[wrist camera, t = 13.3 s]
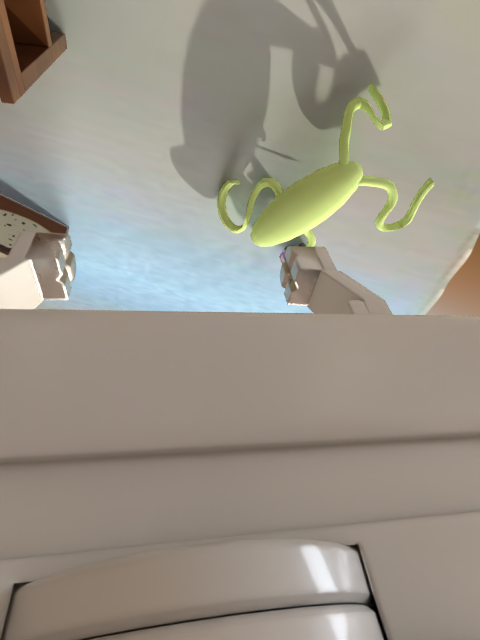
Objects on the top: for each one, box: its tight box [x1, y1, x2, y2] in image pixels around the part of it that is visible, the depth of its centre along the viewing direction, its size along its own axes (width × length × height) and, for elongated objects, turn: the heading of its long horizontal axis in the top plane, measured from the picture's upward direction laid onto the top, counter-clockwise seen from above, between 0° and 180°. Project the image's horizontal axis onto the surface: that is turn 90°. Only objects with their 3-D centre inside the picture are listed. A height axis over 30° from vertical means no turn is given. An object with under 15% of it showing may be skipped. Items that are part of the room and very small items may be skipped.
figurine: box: [217, 84, 434, 263], centre depth 50 cm, size 18×27×6 cm
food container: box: [0, 193, 69, 258], centre depth 46 cm, size 12×6×10 cm, turn 51°
